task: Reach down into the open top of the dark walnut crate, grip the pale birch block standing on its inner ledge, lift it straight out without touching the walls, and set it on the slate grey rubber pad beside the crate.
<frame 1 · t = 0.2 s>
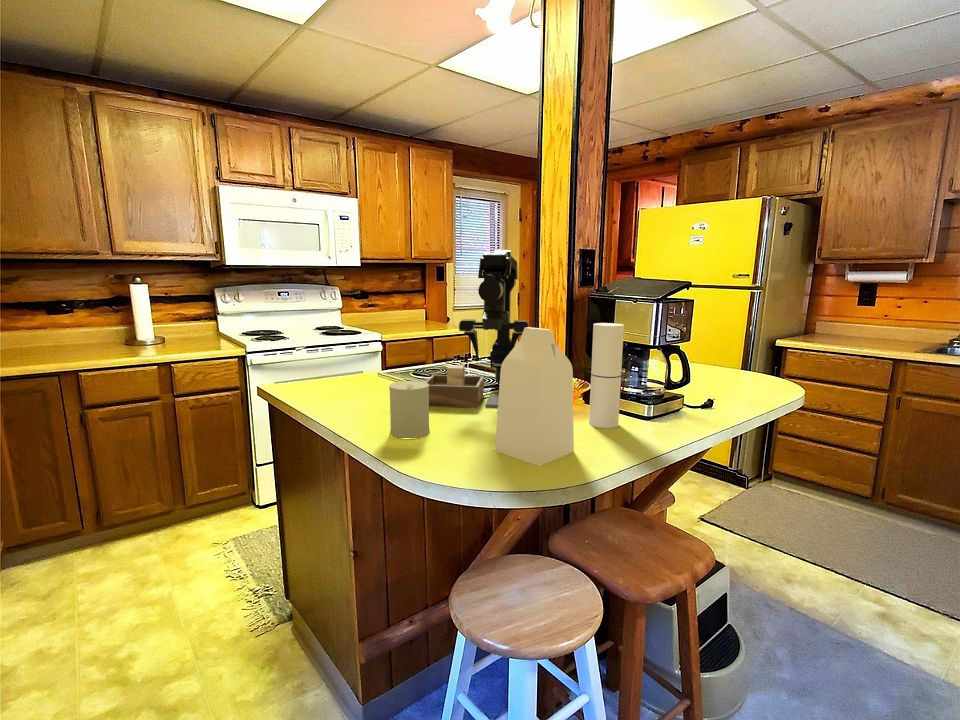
hand: (493, 356, 138), 14 cm above the countertop, tool pointing down, fingers open, 9 cm apart
cylindrical container: (603, 424, 125), on the countertop
can: (410, 434, 116), on the countertop
block: (455, 386, 149), point 3 cm above the countertop, touching crate
pad: (501, 402, 145), on the countertop
milk: (534, 452, 105), on the countertop
crate: (454, 400, 146), on the countertop
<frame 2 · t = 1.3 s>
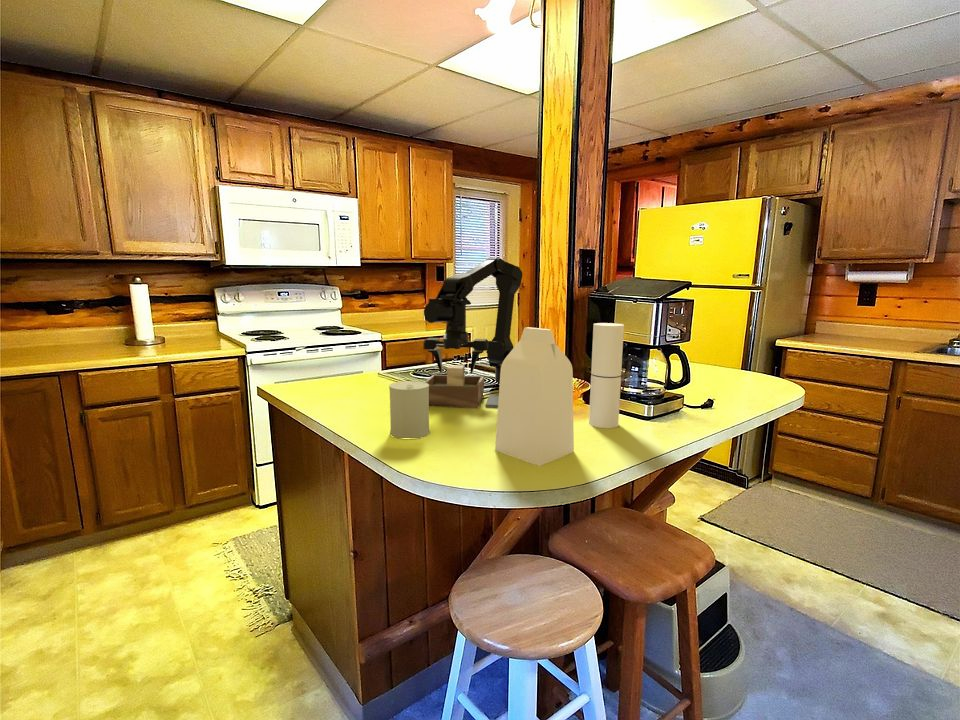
hand: (456, 372, 149), 8 cm above the countertop, tool pointing down, fingers open, 9 cm apart
nothing on the countertop moved.
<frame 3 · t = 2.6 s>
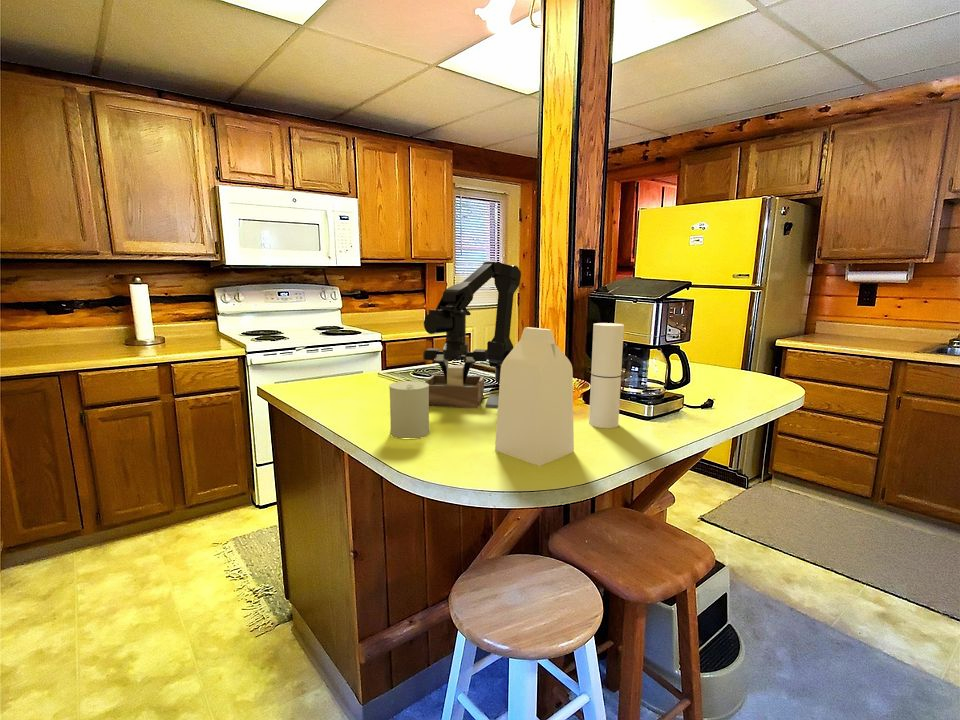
hand: (455, 383, 149), 5 cm above the countertop, tool pointing down, fingers closed on block, 5 cm apart
block: (455, 386, 149), point 3 cm above the countertop, touching crate, gripper
everything else where it was.
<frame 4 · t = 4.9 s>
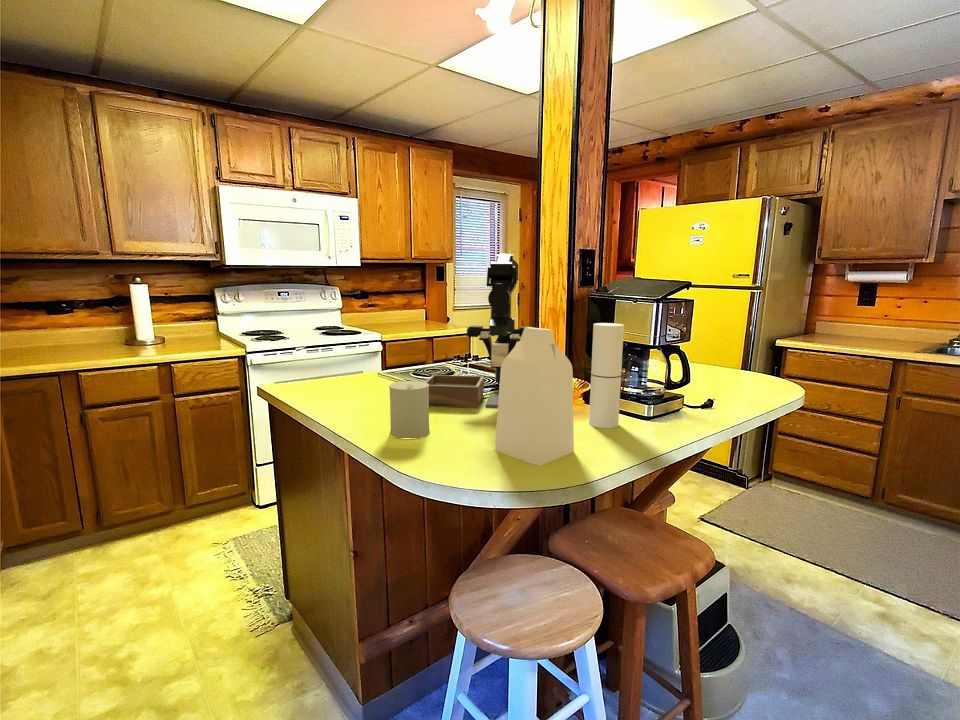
hand: (500, 361, 143), 12 cm above the countertop, tool pointing down, fingers closed on block, 5 cm apart
block: (500, 365, 143), point 11 cm above the countertop, touching gripper
everything else where it was.
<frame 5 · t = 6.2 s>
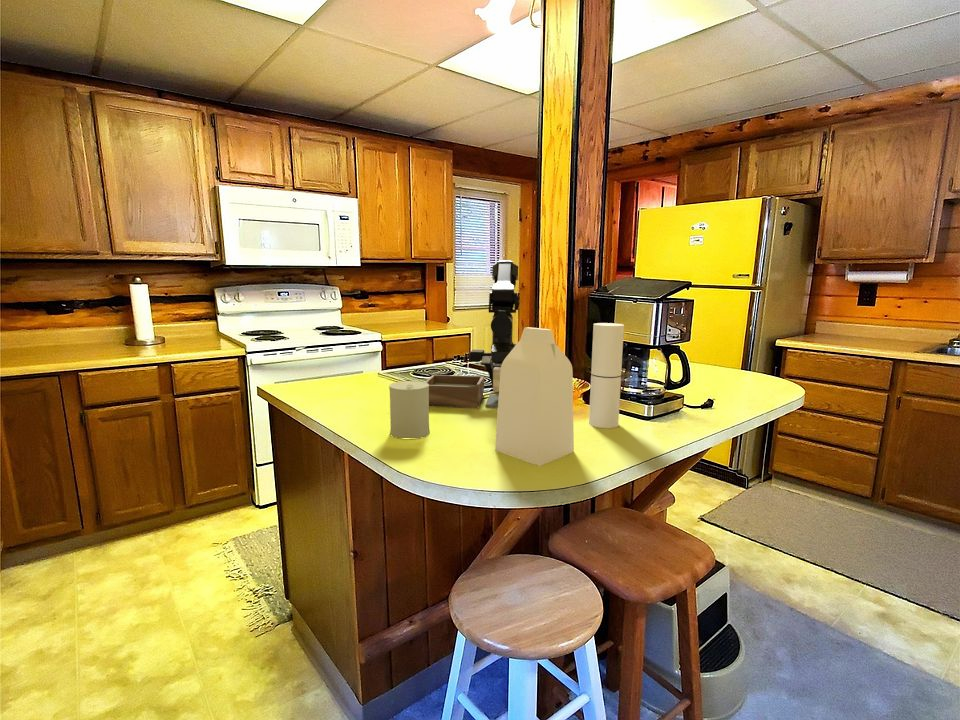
hand: (501, 385, 144), 5 cm above the countertop, tool pointing down, fingers closed on block, 5 cm apart
block: (501, 389, 144), point 4 cm above the countertop, touching gripper
everything else where it was.
when the fingers open (3 cm above the countertop, at t = 7.3 s): block drops 1 cm, resting on pad.
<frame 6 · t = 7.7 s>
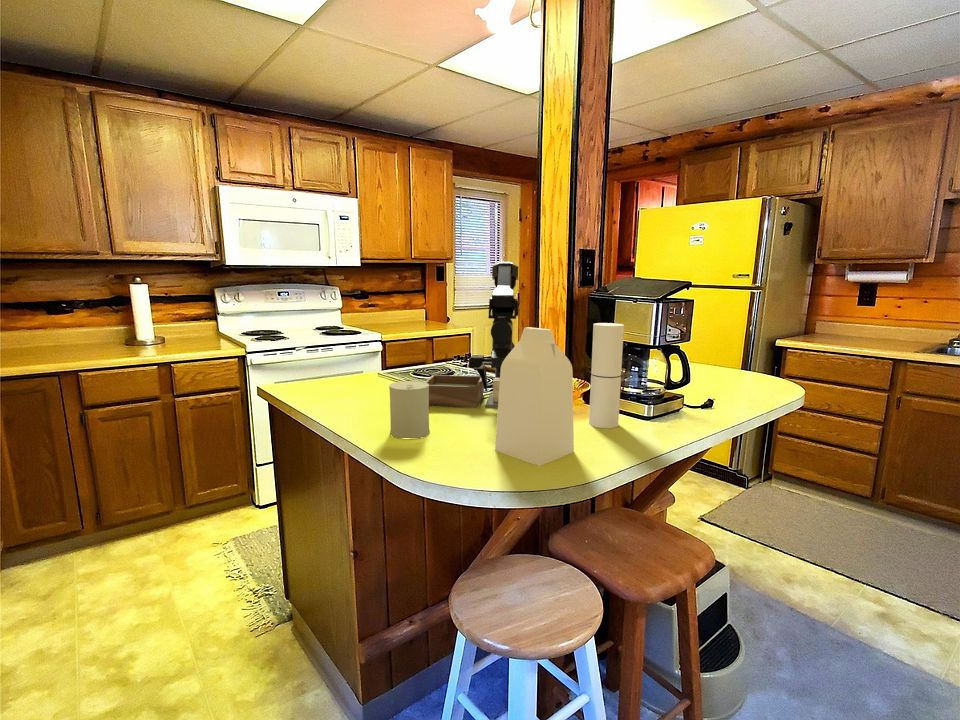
hand: (501, 391, 144), 3 cm above the countertop, tool pointing down, fingers open, 9 cm apart
block: (501, 399, 145), point 1 cm above the countertop, touching pad
everything else where it was.
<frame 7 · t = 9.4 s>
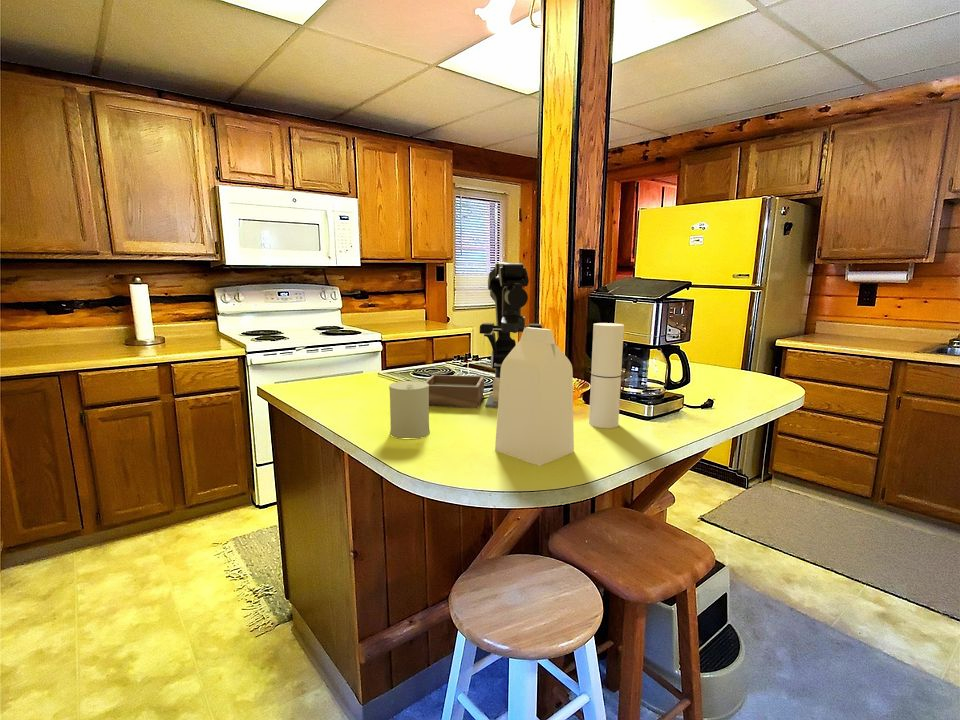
hand: (510, 356, 152), 12 cm above the countertop, tool pointing down, fingers open, 9 cm apart
nothing on the countertop moved.
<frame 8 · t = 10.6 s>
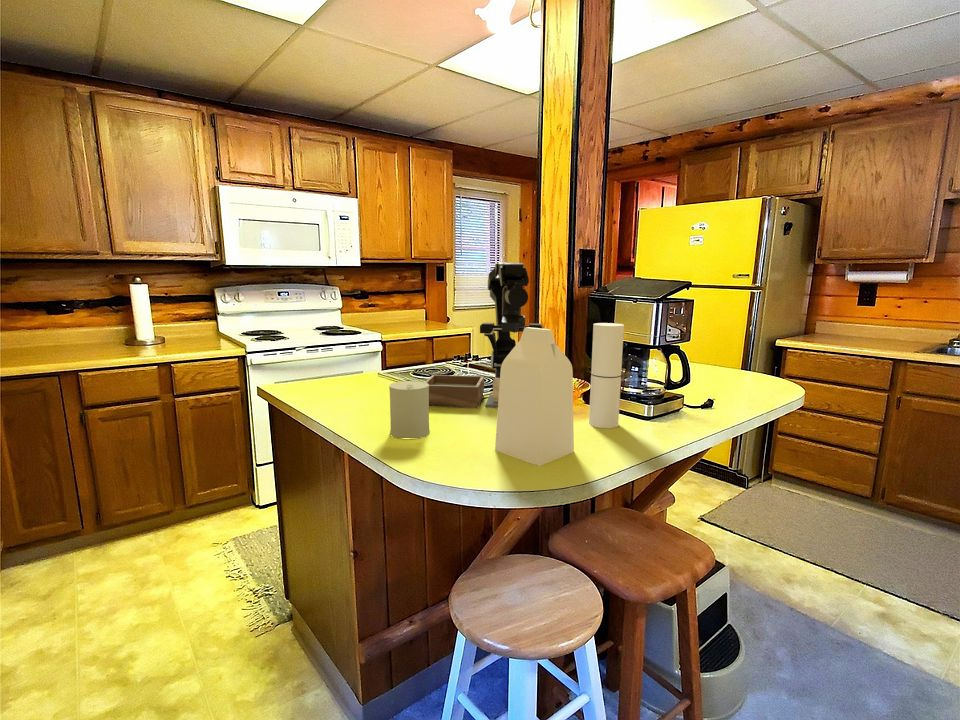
hand: (510, 356, 152), 12 cm above the countertop, tool pointing down, fingers open, 9 cm apart
nothing on the countertop moved.
at the end: block inside the target area on the pad (0.0 cm from its centre), point 0.8 cm above the pad's base; block tilted 0°; block touching pad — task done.
